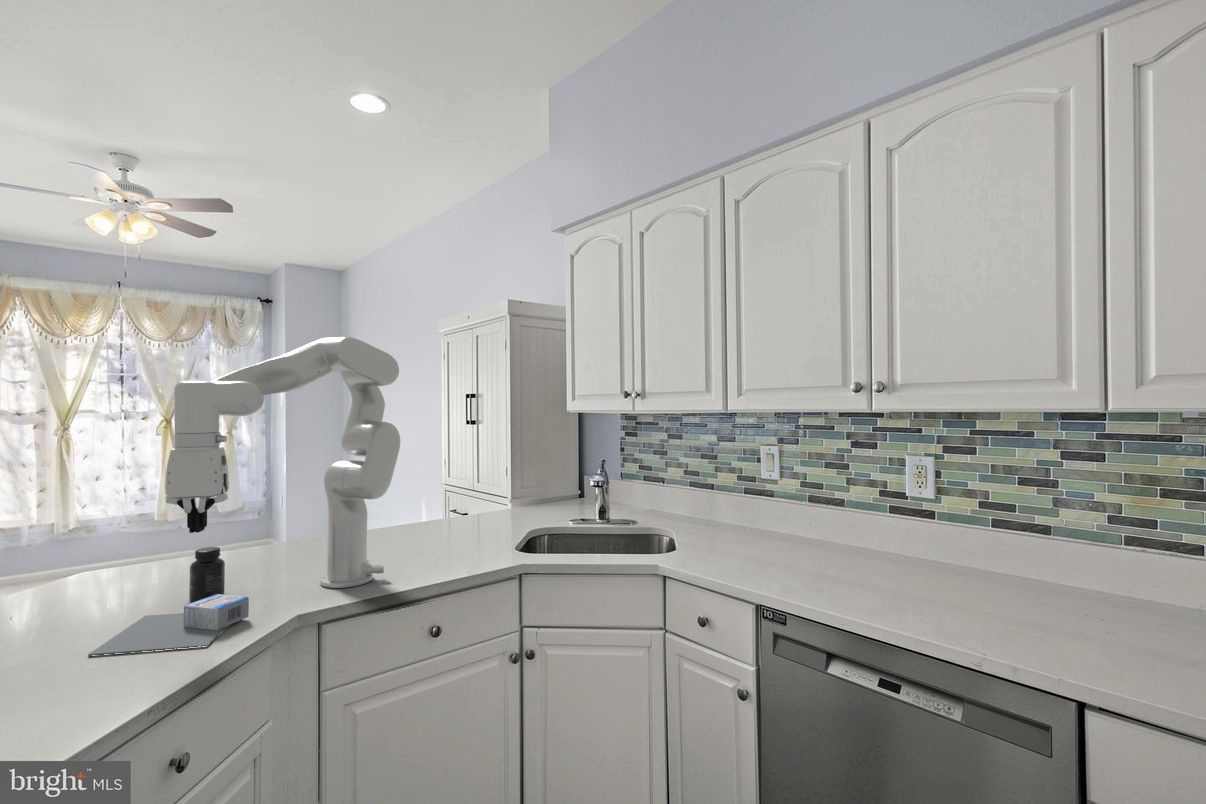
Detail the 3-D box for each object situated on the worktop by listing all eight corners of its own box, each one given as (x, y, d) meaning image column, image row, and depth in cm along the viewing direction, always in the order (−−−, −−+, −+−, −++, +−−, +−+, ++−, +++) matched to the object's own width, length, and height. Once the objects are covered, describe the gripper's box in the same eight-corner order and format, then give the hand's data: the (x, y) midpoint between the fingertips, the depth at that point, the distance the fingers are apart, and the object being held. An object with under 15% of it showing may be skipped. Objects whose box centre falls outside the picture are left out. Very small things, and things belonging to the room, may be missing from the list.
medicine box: (218, 609, 117) (182, 605, 119) (217, 631, 117) (182, 626, 119) (249, 596, 125) (215, 593, 127) (249, 617, 125) (215, 613, 127)
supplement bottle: (185, 600, 136) (186, 549, 137) (218, 593, 142) (219, 544, 142) (194, 607, 132) (195, 554, 132) (228, 599, 137) (229, 548, 137)
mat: (244, 611, 130) (244, 609, 130) (206, 647, 110) (206, 645, 110) (145, 617, 125) (145, 615, 125) (88, 657, 106) (88, 654, 106)
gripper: (244, 439, 124) (244, 525, 125) (164, 440, 121) (164, 529, 121) (231, 442, 117) (231, 533, 117) (145, 443, 114) (145, 537, 114)
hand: (197, 531), depth 119 cm, fingers closed
